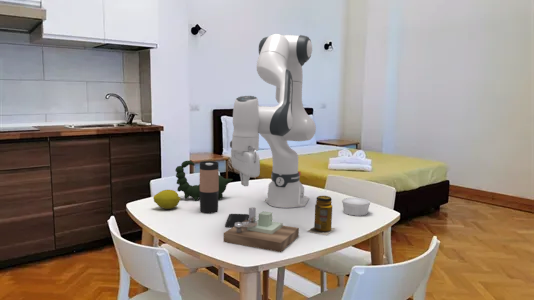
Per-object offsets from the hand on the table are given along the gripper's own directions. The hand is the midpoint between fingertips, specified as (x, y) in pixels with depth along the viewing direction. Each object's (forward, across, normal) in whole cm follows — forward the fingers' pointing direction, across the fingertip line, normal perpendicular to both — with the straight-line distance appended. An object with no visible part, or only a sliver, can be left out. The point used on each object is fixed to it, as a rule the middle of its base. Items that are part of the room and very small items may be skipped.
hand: (244, 185), depth 141 cm
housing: (+17, -7, -4) cm, 19 cm away
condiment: (+17, -5, -27) cm, 33 cm away
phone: (+17, +14, -2) cm, 22 cm away
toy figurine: (+17, +50, +3) cm, 53 cm away
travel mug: (+17, +30, +5) cm, 35 cm away
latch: (+12, -6, +1) cm, 14 cm away
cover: (+14, -5, -6) cm, 16 cm away
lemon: (+17, +39, +21) cm, 47 cm away
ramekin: (+17, +11, -52) cm, 55 cm away
